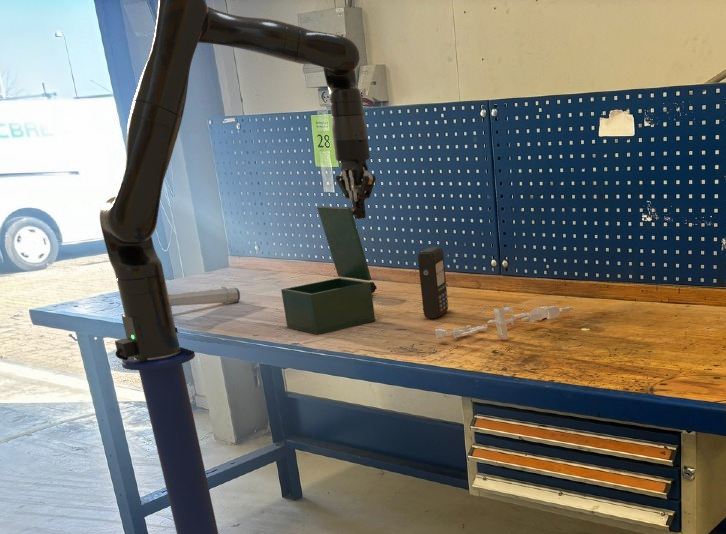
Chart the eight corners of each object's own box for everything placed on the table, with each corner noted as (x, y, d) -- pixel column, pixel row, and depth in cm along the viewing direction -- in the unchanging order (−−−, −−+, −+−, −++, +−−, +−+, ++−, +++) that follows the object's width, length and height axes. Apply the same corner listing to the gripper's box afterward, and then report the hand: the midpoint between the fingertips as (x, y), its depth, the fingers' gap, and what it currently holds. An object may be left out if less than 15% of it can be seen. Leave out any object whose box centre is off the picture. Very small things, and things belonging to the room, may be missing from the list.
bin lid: (348, 208, 184) (368, 201, 188) (316, 207, 193) (336, 199, 196) (368, 280, 192) (388, 272, 195) (338, 276, 201) (356, 268, 204)
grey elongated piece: (467, 350, 161) (423, 352, 169) (574, 322, 187) (532, 325, 195) (462, 316, 160) (417, 320, 168) (571, 292, 186) (528, 297, 193)
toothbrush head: (241, 287, 226) (149, 291, 208) (242, 312, 228) (151, 319, 209) (230, 285, 229) (139, 290, 211) (232, 310, 231) (141, 317, 213)
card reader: (439, 319, 193) (433, 252, 187) (422, 319, 193) (415, 252, 188) (450, 310, 201) (444, 246, 195) (434, 310, 202) (428, 246, 196)
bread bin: (316, 334, 186) (310, 294, 183) (287, 327, 194) (281, 289, 191) (375, 320, 196) (370, 282, 193) (344, 314, 204) (339, 277, 201)
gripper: (319, 139, 190) (330, 219, 196) (353, 137, 181) (363, 221, 187) (347, 137, 195) (357, 215, 201) (381, 136, 186) (390, 217, 192)
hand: (360, 218), depth 194 cm, fingers closed
